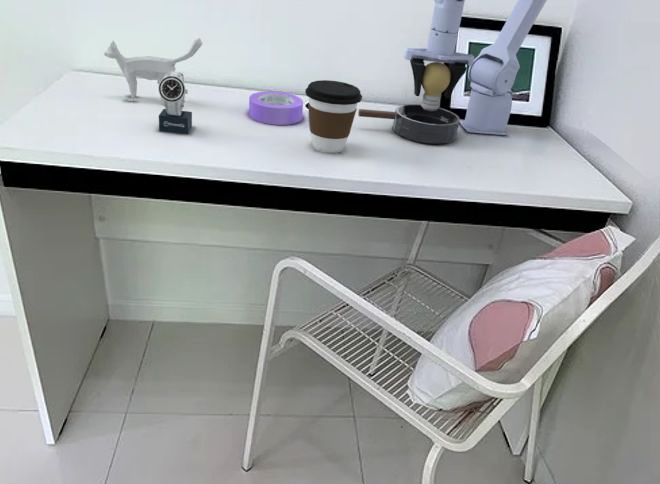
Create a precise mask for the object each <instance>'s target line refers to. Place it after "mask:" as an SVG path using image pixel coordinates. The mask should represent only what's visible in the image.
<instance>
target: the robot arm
mask: <svg viewBox="0 0 660 484" xmlns="http://www.w3.org/2000/svg"><path fill="white" fill-rule="evenodd" d="M465 2H466V0H434V8H433V12H432V19H431V23H430V29H429V35H428V40H427V45H426V46H427V47H426V48H415V47H414V48H413V47H412V48H411V47H405V49H404V55H403V58H404V60H407V61H409V62H410V63H409V64H410V66H411V70H412V75H413V76H412V77H413V85H414V86H413V87H414V89H413V93H414V94H413V95H415V97H420V96H421V90H422V79H423V75H424V71H425V68H426V65H425V62H439V63H443V64H444V63H446V64H448V68H449V70H450V74H451V79H450V83H449V85H448V87H447V88H446V89H445V90H444V95H443V96H444V98H445V99H446V100H450V99H451V96H452V94H453V92H454V90H455V88H456V86H457V84H458V83H459V82H460V80H461V78H462V77H463V76H464V75H465V74H466V72H467V79H468V80H469V83H470V85H469V87H470V88H471V90H470V94H469V95H470V96H469V100H468V104H467V109H466V113H465V117H464V119H460V122H459V125H460V126H462V127H463V129H464V130H465V131H466V132H467V133H471V134H484V135H494V136H495V135H497V136H507V133H506V131H507V126H508V122H509V119H510V115H511V111H512V107H513V98H512V95H511V94H510V93H508V92H509V91H510V90H511V89H512V87H513V86H514V84H515V81H516V76H517V73H518V71H519V70H520V68H521V66H520V65H521V64H520V63H519V60H518V58H517V53H518V52H519V50H520V48H521V46H522V44H523V43H524V41H525V40H526V37H527V36H528V34H529V33H530V30H531V29H532V27H533V25H534V24H535V22H536V20H537V19H538V17H539V15H540V12H541V11H542V10H543V8H544V6H545V4H546V3H547V0H517V2H516V3H515V5H514V7H513V9H512V10H511V12H510V13H509V16H508V18H507V20H506V21H505V23H504V25H503V26H502V29H501V30H500V32H499V34H498V36H497V37H496V39H495V41H494V43H492V44H490V45H488V46H486V47H484V48H482V49H481V50H480V53H479V54H478V55H477V56H476V57H475V56H474V55H473V54H471V53H470V54H468V53H463V52H456V50H455V49H456V45H457V40H458V36H459V30H460V25H461V22H462V16H463V11H464V7H465ZM424 61H425V62H424ZM467 67H468V70H467Z"/></svg>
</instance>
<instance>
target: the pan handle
mask: <svg viewBox="0 0 660 484" xmlns="http://www.w3.org/2000/svg"><path fill="white" fill-rule="evenodd" d="M357 115H358V117H360V118H361V117H362V118H374V119H375V118H376V119H383V120H394V119H395V117H396V113H395V111H391V110H380V109H379V110H378V109H365V108H359V109H358V113H357Z"/></svg>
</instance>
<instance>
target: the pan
mask: <svg viewBox="0 0 660 484" xmlns="http://www.w3.org/2000/svg"><path fill="white" fill-rule="evenodd" d="M394 112H395V113H396V117H395V119H393V122H392V129H393V131H394V132H395V133H397V135H399V136H401V137H403V138H404V139H408V140H409V141H413V142H417V143H421V144H427V145H429V144H430V145H441V144H447V143H451V142H453V141H455V140H456V139H457V135H458V131H459V127H460V123H459V122H460V120H461V118H460V117H459V116H458V114H456V113H454V112H452V111H451V110H448V109H446V108H442V107H438V109H437V110H435V111H428V110H425V109H423V107H422V106H421V104H418V103H408V104H407V103H406V104H401V105H399V106H397V107H396V108H395V111H394Z"/></svg>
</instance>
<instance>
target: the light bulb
mask: <svg viewBox="0 0 660 484" xmlns="http://www.w3.org/2000/svg"><path fill="white" fill-rule="evenodd" d="M425 66H426V68H425V71H424V75H423V79H422V84H421V88H422V89H423V91H424V93H423V94H422V99H421V104H420V105H421V106H422V107H423V109H425V110H428V111H435V110H437V109H438V108H440V107H439V104H440V100H441V94H442V93H443V92H445V89H446V88H447V87H448V85H449V83H450V79H451V74H450V70H449V66H447V65H446V64H444V63H443V62H434V61H431V62H429V63H428V64H426V65H425Z"/></svg>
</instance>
